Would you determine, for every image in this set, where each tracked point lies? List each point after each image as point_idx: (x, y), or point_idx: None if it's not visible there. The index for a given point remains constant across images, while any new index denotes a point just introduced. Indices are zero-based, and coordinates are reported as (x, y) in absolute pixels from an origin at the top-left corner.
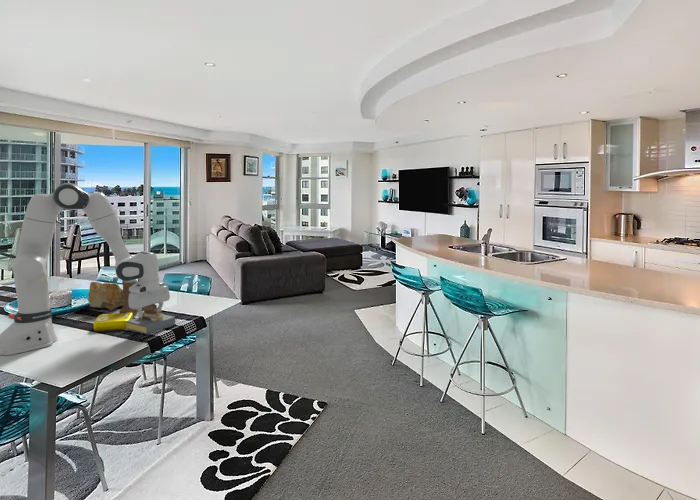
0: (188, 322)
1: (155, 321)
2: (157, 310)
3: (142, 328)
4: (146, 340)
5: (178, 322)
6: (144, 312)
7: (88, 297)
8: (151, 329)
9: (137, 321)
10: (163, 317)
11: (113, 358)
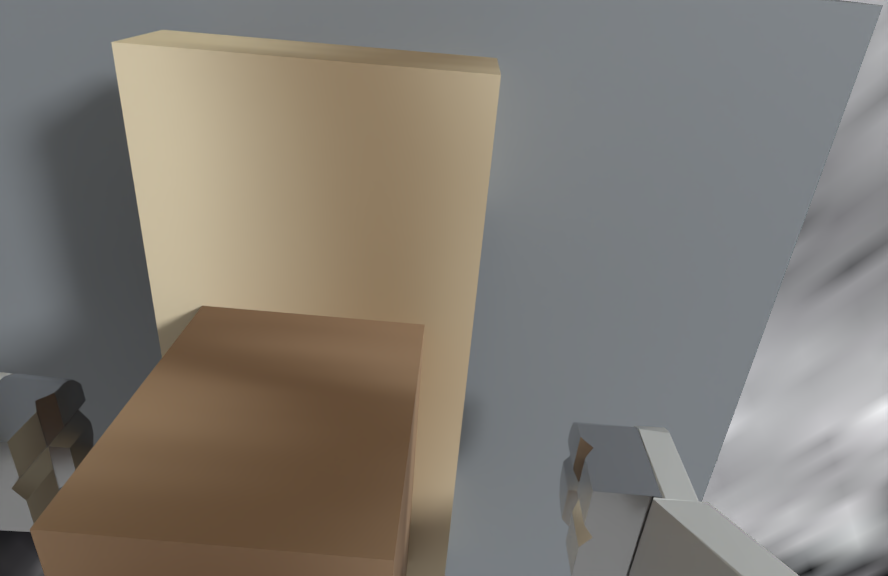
0: (796, 552)
1: None
2: (573, 461)
3: None
4: (6, 570)
5: (759, 448)
6: (195, 332)
7: None
8: None
9: (50, 227)
10: (557, 473)
11: None
